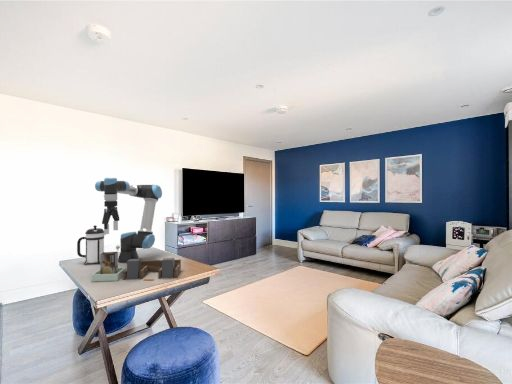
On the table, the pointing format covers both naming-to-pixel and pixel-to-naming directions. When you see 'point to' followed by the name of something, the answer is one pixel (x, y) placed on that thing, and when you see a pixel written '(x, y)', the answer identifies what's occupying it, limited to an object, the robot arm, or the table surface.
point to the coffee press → (92, 245)
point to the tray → (107, 276)
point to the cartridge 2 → (168, 267)
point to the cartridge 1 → (133, 268)
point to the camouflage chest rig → (154, 268)
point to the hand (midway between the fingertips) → (111, 232)
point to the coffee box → (109, 263)
